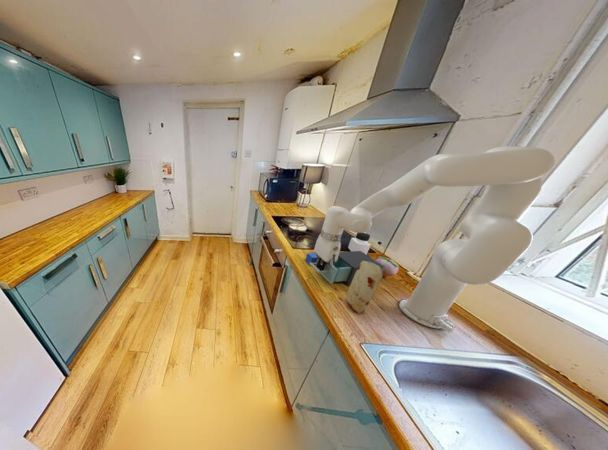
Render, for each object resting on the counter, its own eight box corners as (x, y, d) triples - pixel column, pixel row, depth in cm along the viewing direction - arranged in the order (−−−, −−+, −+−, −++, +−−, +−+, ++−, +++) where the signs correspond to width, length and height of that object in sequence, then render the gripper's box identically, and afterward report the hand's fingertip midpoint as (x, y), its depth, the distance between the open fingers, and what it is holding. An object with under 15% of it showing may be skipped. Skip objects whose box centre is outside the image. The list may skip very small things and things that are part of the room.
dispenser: (347, 285, 89) (354, 267, 85) (328, 268, 101) (334, 252, 97) (375, 283, 91) (383, 266, 87) (354, 266, 103) (360, 251, 99)
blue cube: (318, 264, 103) (320, 257, 102) (310, 264, 103) (312, 257, 101) (313, 259, 108) (315, 252, 106) (305, 259, 107) (307, 252, 105)
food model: (340, 296, 83) (356, 256, 75) (357, 298, 82) (376, 258, 74) (350, 314, 74) (369, 272, 66) (370, 318, 73) (392, 275, 65)
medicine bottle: (366, 255, 113) (374, 237, 108) (352, 253, 114) (360, 235, 109) (360, 249, 119) (367, 231, 114) (347, 247, 120) (354, 230, 115)
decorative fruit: (397, 277, 95) (406, 260, 91) (389, 283, 91) (398, 265, 87) (374, 267, 103) (382, 250, 98) (366, 271, 99) (374, 254, 95)
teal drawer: (318, 284, 88) (323, 270, 85) (304, 268, 98) (308, 255, 95) (357, 281, 90) (363, 268, 87) (339, 266, 101) (344, 253, 97)
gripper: (352, 243, 78) (338, 280, 86) (327, 227, 92) (316, 260, 99) (334, 244, 77) (322, 281, 85) (312, 227, 91) (303, 260, 98)
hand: (319, 269), depth 92 cm, fingers closed
